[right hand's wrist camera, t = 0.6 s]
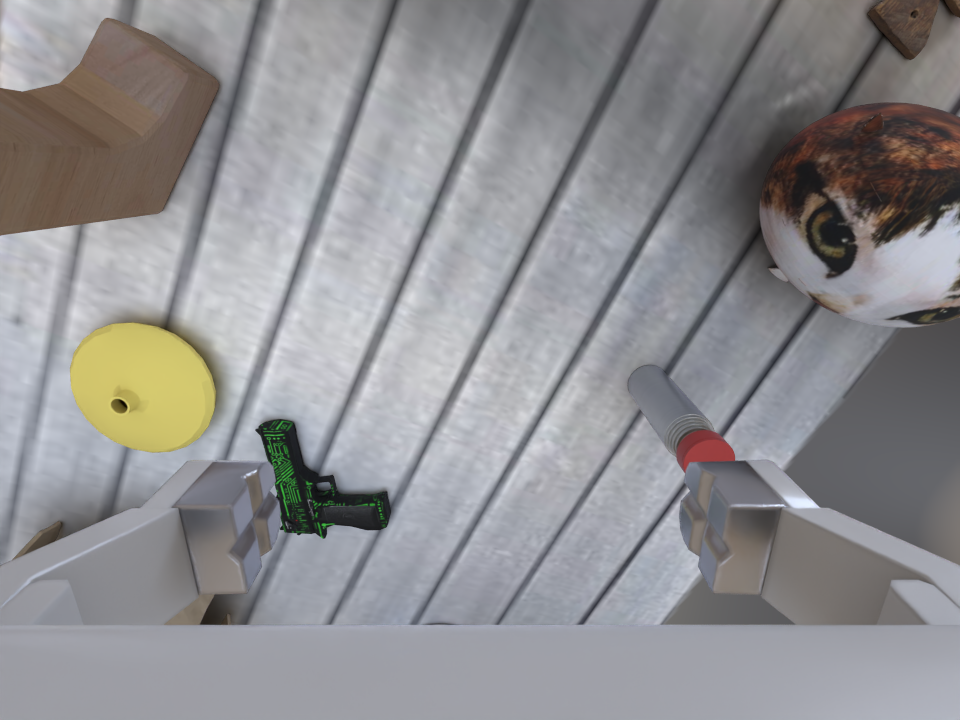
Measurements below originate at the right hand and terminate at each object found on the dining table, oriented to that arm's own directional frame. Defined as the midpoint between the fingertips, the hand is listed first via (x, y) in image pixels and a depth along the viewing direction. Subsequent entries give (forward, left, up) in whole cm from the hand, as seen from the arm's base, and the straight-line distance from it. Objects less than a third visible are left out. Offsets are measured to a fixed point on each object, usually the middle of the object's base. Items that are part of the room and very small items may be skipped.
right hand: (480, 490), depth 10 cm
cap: (+18, +20, -31) cm, 41 cm away
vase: (+17, -38, -48) cm, 63 cm away
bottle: (+18, +20, -48) cm, 55 cm away
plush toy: (-2, +36, -48) cm, 60 cm away
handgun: (+30, -19, -48) cm, 60 cm away
